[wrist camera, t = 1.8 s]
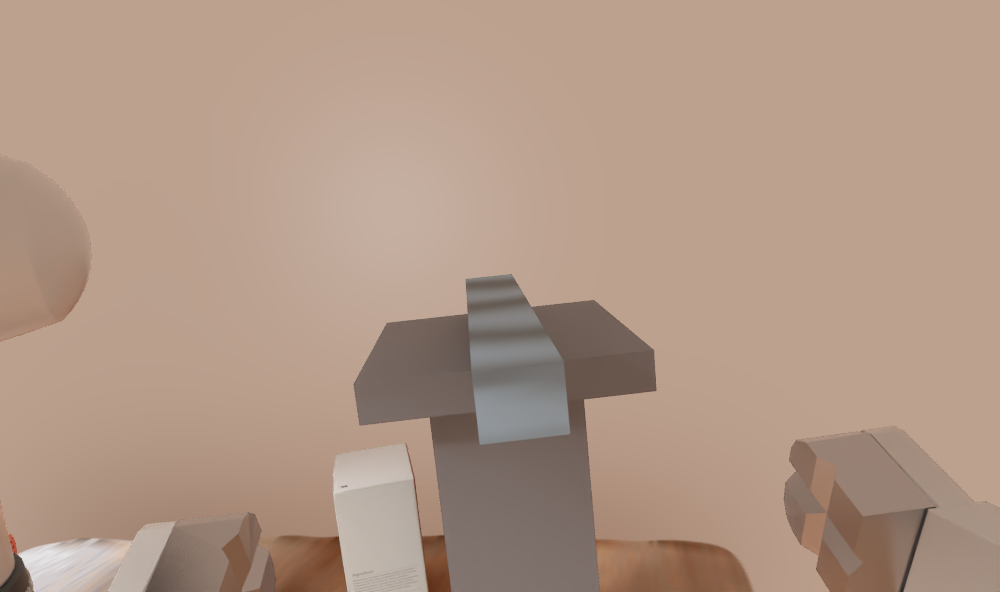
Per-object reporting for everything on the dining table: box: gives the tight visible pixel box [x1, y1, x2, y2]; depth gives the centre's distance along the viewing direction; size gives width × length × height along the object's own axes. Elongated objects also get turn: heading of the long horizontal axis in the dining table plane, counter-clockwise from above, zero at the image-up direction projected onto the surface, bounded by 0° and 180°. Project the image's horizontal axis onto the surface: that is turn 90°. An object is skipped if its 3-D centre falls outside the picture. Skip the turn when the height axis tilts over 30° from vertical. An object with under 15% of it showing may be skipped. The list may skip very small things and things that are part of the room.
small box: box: [333, 443, 429, 592], centre depth 55 cm, size 8×6×13 cm
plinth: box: [354, 300, 656, 592], centre depth 40 cm, size 14×14×26 cm
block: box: [466, 274, 570, 445], centre depth 32 cm, size 22×3×2 cm, turn 3°
